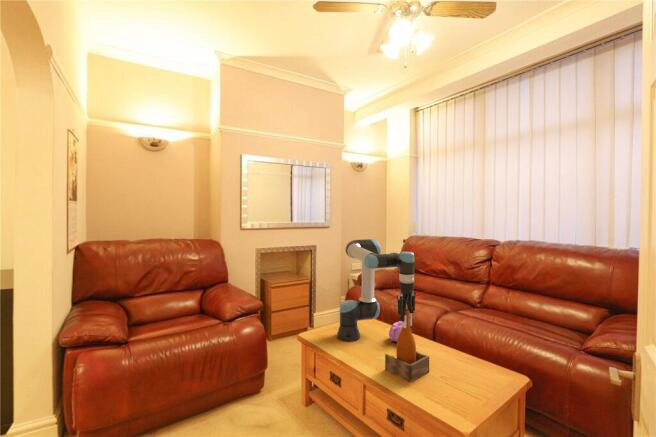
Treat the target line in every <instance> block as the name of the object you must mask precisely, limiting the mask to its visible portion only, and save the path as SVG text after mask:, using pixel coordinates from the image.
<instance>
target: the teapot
mask: <svg viewBox="0 0 656 437" xmlns="http://www.w3.org/2000/svg"><path fill="white" fill-rule="evenodd" d="M401 330H402V327H401V320H399V321H397V322H394V323H393V324H392V325H391V327H390V329H389V331H388V336H389V338H390V340H391V342H393V343H394V342H396V343H397V340H398V337H399V334H400V332H401Z"/></svg>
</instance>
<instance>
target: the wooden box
mask: <svg viewBox="0 0 656 437" xmlns="http://www.w3.org/2000/svg"><path fill="white" fill-rule="evenodd" d="M384 364H385V365H384V370H385V371H386V372H388V373H389V374H392V375H394V376H396V377H398V378H401V379H402V380H404V381H406V382H408V383H412V382H415V381H416V380H419V379H420V378H421V377H423V376H425V375H426V374H428V373H430V356H429V355H427V354H424V353H421V352H419V351H417V350H416V362H414V363H412V364H408V363H406V362H403V361H401V360H399V359H397V357H394V356H392V355H390V354H389V353H388V354H387V353H386V354H384Z"/></svg>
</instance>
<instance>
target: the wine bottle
mask: <svg viewBox="0 0 656 437" xmlns="http://www.w3.org/2000/svg"><path fill="white" fill-rule="evenodd" d="M405 315H406V328H403V327H402V330H401V332H400V334H399V337H398V340H397V342H396V347H395V348H396V358H397V359H399V360H401V361H403V362H406V363H408V364H412V363H414V362H416V351H417V347H416V346H417V344H416V341H415V338H414V335H413V334H414V332H413V329H412V327H411V326H409V310H408V309H407V308H406V313H405Z"/></svg>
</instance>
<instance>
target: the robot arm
mask: <svg viewBox="0 0 656 437" xmlns="http://www.w3.org/2000/svg"><path fill="white" fill-rule="evenodd" d="M381 252H382V251H381V246H380V243H379V242H378V240H376V239H370V238H369V239H368V238H367V239H354V240H350V241H348V243H347V244H346V246H345V254H346V256H348V257H349V258H351V259H356V260H358V261H359V262H361V292H360V293H361V296H360V297H359V298H358V301H357V300H355V299H347V300H345V301H342V302H341V303H340V305H339V327H338V330H337V333H336V337H337V339H338V340H340V341H343V342H355V341H358V340H359V339H360V338H361V333H360V331H359V330H360V329H359V327H358V326H359V325H358V322H359V321H367V320H374V319H377V318H378V317H379V315H380V310H381V309H380V308H381V307H380V303H379V302H378V301H377V299H376V297H375V269H384V268H385V269H390V268H397V269H399V273H398V274H399V276H398V277H399V278H398V279H399V282H398V283H399V288H398V289H399V290H400V294H399V295H396V299H397V314H398V315H400V321H401V327H403V328H406V315H405V313H406V309H408V310H409V326H410V327H412V326H413V314H414V313H415V311H416V296H417V291H414V290H415V254H414V252H412V251H400V252H399V253H398V252H390V253H381Z"/></svg>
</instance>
